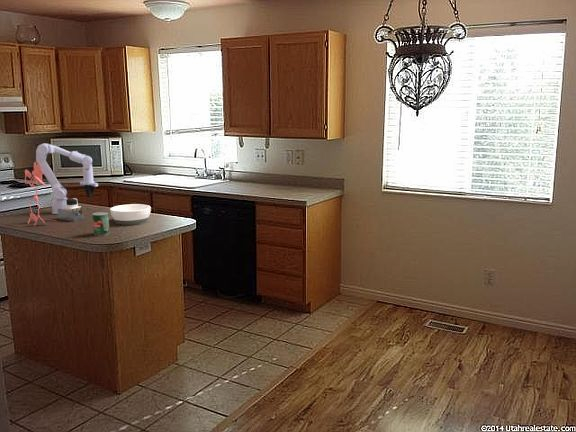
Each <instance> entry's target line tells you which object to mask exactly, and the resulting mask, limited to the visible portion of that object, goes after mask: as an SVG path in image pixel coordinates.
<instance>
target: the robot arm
mask: <svg viewBox="0 0 576 432" xmlns="http://www.w3.org/2000/svg"><path fill="white" fill-rule="evenodd" d="M53 153H56V154H59V155H62V156H65V157H68V158H69V160H70V161H72V162H75V163H78V164H82V175H83V181H79V185H80V186H82V188H83V189H84V191H85V193H86V196H87V198H93V195H94V190H95V189H96V187H99V183H98V182H95V181H94V169H93V158H92V157H91V156H90V155H86V153H85V154H84V153H83V154H82V153H80V152H78V151H77V150H73V151H69V150H66V149H64V148H61V147H60V146H56V145H54V144H50V143H48V142H45V143H44V142H43V143H42V144H39V145H38V146H37V148H36V150H35V162H36V164H38V162H39V163H40V165H41V169H42V170H43V175H44V176H45V178H46V180H47V181H48V183H49V185H50V187H51V189H52V191H53V196H54V199H53V200H52V201H51V209H52V212H51V214H53V215H54V214H55V215H58V210H57V209H64V207H68V206H67V202H66V200H67V199H68V197H67V195H68V191H67V188H65V187H64V186H63V185H62V184H61V183H60V182H59V180H58V179H57V177H56V175H55V174H54V172H53V170H52V168H51V167H50V165H49V164H48V162H47V157H48V155H49V154H53Z"/></svg>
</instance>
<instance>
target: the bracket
mask: <svg viewBox="0 0 576 432" xmlns="http://www.w3.org/2000/svg"><path fill="white" fill-rule="evenodd" d="M57 210H58V214H57V219H58V220H62V221H66V222H67V221H69V222H74V223H75V222H77V221H81V220H85V219H86V217H85V214H84V213H82V215H78V216H76V212H75V211H72V210H65V209H57Z"/></svg>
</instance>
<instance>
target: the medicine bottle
mask: <svg viewBox="0 0 576 432" xmlns="http://www.w3.org/2000/svg"><path fill="white" fill-rule="evenodd" d="M66 202H67V206H68V207H64V209H65V210H72V211H75V212H76V216H78V215H82V214H83V210H82V209H83V208H82V206H81V205H80V206H79V203H78V199H77V198H67V200H66Z"/></svg>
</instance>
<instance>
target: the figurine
mask: <svg viewBox="0 0 576 432" xmlns="http://www.w3.org/2000/svg"><path fill="white" fill-rule="evenodd" d="M24 174H25V176H24V184H26V185H27V184H29V186H30V187H31V188H33V187H35V188H36V192H35V193H36V194H35V195H34V196H33V197H32V200H30V201H29V202H28V206H29V208H30V213H29V216H30V217H29V219H28V221H27V224H30V223H31V222H30V221H31V220H33V221H34V222H35V223H34V225H33V226H34V227H35V226H36V225H37V223H38V220H39V219H40V220H41V222H43V223H44V224H45V225H47V222H46V219H45V218H44V219H43V218H42V217H41V216H40V207H39V205H37V212H38V214H37V215H36V214H34V213H33V211H32V207H31V204H30V203H31V202H33V201H36V202H37V204H39V197H38V190H39V189H38V185H37V184H38V183H39V184H40V185H41V184H42V185H43V186H47V184H46V183H44V181H43V175H44V173H43V170H42V169H41V165H40V163H39V162H38V163H37V162H36V161H34V162H33V170H32V172H30V171H29V170H28V169H25V170H24ZM27 177H28V178H29V179H30V180H29V181H28V182H27ZM31 182H32V183H31ZM34 183H35V184H36V185H37V186H36V185H35V184H34ZM44 220H45V221H44ZM47 221H51V219H48V218H47ZM53 221H55V222H56V220H55V219H54V220H53Z"/></svg>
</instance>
